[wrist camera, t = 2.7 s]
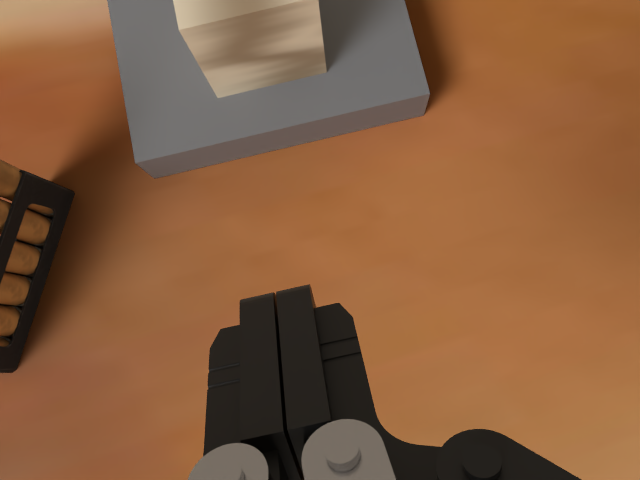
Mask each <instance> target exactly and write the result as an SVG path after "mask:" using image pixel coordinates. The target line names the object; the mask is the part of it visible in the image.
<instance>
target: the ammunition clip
mask: <svg viewBox="0 0 640 480" xmlns="http://www.w3.org/2000/svg"><path fill="white" fill-rule="evenodd" d="M74 194H75V193H74V192H73V191H72V190H69V189H67V188H65V187H62V186H60V185H57V184H55V183H53V182H50V181H48V180H46V179H43V178H41V177H38V176H36V175H34V174H31V173H29V172H26V171H24V170H20V169H18V168H16V167H14V166H12V165H10V164H8V163H6V162H4V161H2V160H0V197H3V198H6V199H8V200H10V201H12V203H9V202H7V201H4V200H1V199H0V234H1V236H0V373H13V372H14V371H15V370H16V369H17V366H18V363H19V360H20V357H21V354H22V351H23V348H24V345H25V342H26V339H27V336H28V333H29V330H30V327H31V324H32V321H33V318H34V315H35V312H36V309H37V306H38V303H39V300H40V297H41V294H42V291H43V288H44V285H45V282H46V279H47V276H48V273H49V270H50V267H51V264H52V260H53V257H54V254H55V251H56V248H57V245H58V242H59V239H60V236H61V233H62V230H63V227H64V224H65V221H66V218H67V215H68V212H69V209H70V206H71V203H72V200H73V197H74Z"/></svg>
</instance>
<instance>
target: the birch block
mask: <svg viewBox="0 0 640 480" xmlns="http://www.w3.org/2000/svg"><path fill="white" fill-rule="evenodd" d="M173 3H174V8H175V13H176V18H177V24H178V29H179V31H180V33H181V35H182V37H183V38H184V40H185V42H186V44H187V45H188V47H189V49H190V51H191V52H192V54H193V56H194V58H195V59H196V61H197V63H198V65H199V66H200V68H201V70H202V72H203V73H204V75H205V77H206V79H207V80H208V82H209V84H210V86H211V87H212V89H213V91H214V92H215V94H216V96H217V98H221V97H225V96H229V95H234V94H238V93H242V92H246V91H250V90H255V89H259V88H263V87H267V86H271V85H276V84H280V83H284V82H288V81H293V80H297V79H301V78H305V77H309V76H314V75H318V74H322V73H326V72H327V70H326V62H325V53H324V44H323V36H322V27H321V19H320V10H319V1H318V0H173Z"/></svg>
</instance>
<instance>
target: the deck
mask: <svg viewBox="0 0 640 480" xmlns="http://www.w3.org/2000/svg"><path fill="white" fill-rule="evenodd" d="M107 1H108V7H109V13H110V19H111V24H112V30H113V36H114V42H115V48H116V54H117V60H118V65H119V71H120V77H121V83H122V89H123V95H124V101H125V106H126V112H127V118H128V124H129V130H130V136H131V142H132V147H133V153H134V159H135V163H136V164H137V165H138V166H139V167H141V168H142V169H143V170H144V171H146V172H147V173H148V174H149V175H151V176H152V177H153V178H154V179H155V178H159V177H163V176H168V175H172V174H176V173H180V172H185V171H189V170H193V169H197V168H202V167H206V166H210V165H214V164H219V163H223V162H227V161H231V160H236V159H240V158H244V157H248V156H253V155H257V154H261V153H265V152H270V151H274V150H278V149H282V148H287V147H291V146H295V145H300V144H304V143H308V142H312V141H317V140H321V139H325V138H329V137H334V136H338V135H342V134H346V133H351V132H355V131H359V130H363V129H368V128H372V127H376V126H380V125H385V124H389V123H393V122H397V121H402V120H406V119H410V118H414V117H419V116H423V115H424V113H425V110H426V106H427V103H428V99H429V96H430V91H429V88H428V84H427V80H426V77H425V73H424V70H423V66H422V62H421V59H420V55H419V51H418V48H417V44H416V40H415V37H414V33H413V29H412V26H411V22H410V19H409V15H408V11H407V8H406V4H405V0H318V1H319V10H320V19H321V27H322V36H323V44H324V53H325V62H326V70H327V72H326V73H322V74H318V75H314V76H309V77H305V78H301V79H297V80H293V81H288V82H284V83H280V84H276V85H271V86H267V87H263V88H259V89H255V90H250V91H246V92H242V93H238V94H234V95H229V96H225V97H221V98H217V96H216V94H215V92H214V91H213V89H212V87H211V86H210V84H209V82H208V80H207V79H206V77H205V75H204V73H203V72H202V70H201V68H200V66H199V65H198V63H197V61H196V59H195V58H194V56H193V54H192V52H191V51H190V49H189V47H188V45H187V44H186V42H185V40H184V38H183V37H182V35H181V33H180V31H179V29H178V24H177V18H176V13H175V8H174V3H173V0H107Z"/></svg>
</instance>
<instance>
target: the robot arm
mask: <svg viewBox="0 0 640 480" xmlns="http://www.w3.org/2000/svg"><path fill="white" fill-rule="evenodd" d="M188 480H581V479H579V478H578V477H576V476H574V475H572V474H571V473H569V472H567V471H566V470H564V469H562V468H560V467H559V466H557V465H555V464H553V463H552V462H550V461H548V460H547V459H545V458H543V457H541V456H540V455H538V454H536V453H534V452H533V451H531V450H529V449H528V448H526V447H524V446H522V445H521V444H519V443H517V442H515V441H514V440H512V439H510V438H508V437H507V436H505V435H503V434H501V433H498V432H495V431H491V430H486V429H472V430H467V431H463V432H460V433H458V434H456V435H454V436H453V437H451V438H450V439H449V440H448V441H447V442H446V443H445V444H444V445H443V446H442V447H435V446H424V445H415V444H410V443H407V442H404V441H401V440H399V439H397V438H395V437H394V436H392V435H391V434H390V433H388V432H387V431H386V430H385V429H384V428H383V426H382V425H381V424H380V422H379V420H378V418H377V415H376V412H375V408H374V404H373V399H372V395H371V391H370V387H369V383H368V379H367V375H366V370H365V366H364V362H363V358H362V354H361V350H360V346H359V341H358V337H357V333H356V329H355V325H354V321H353V317H352V316H351V315H350V314H349V313H348V312H347V311H346V310H345V309H344V308H343V307H342V305H341V304H340V303H335V304H331V305H326V306H322V307H317V308H316V306H315V302H314V298H313V294H312V290H311V287H310V284H309V285H304V286H300V287H295V288H291V289H286V290H282V291H277V292H276V295H275V293H269V294H265V295H260V296H256V297H251V298H247V299H242V300H240V325H237V326H232V327H228V328H223V329H220V331H219V333H218V335H217V337H216V338H215V340H214V342H213V344H212V346H211V348H210V355H209V373H208V390H207V406H206V423H205V440H204V453H203V458H201V459H200V460H199V461H198V463H197V464H196V465H195V466H194V468H193V470H192V471H191V473H190V475H189V478H188Z"/></svg>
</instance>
